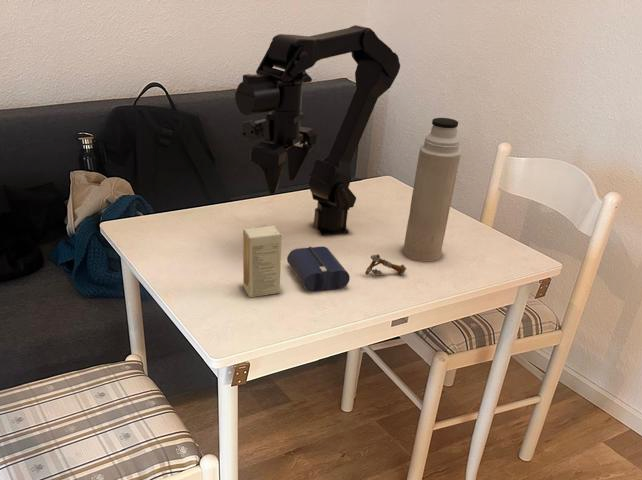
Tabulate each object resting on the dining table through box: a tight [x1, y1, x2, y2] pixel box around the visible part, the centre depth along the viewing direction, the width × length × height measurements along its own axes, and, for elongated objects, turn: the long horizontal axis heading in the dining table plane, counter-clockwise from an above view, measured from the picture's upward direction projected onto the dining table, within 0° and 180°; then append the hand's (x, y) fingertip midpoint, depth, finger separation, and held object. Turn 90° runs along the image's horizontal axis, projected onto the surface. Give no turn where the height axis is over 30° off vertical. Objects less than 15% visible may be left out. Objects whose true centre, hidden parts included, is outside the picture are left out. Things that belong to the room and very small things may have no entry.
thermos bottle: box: [402, 117, 462, 262], centre depth 137 cm, size 8×8×28 cm
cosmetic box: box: [242, 224, 282, 298], centre depth 125 cm, size 6×4×12 cm
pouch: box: [286, 245, 351, 293], centre depth 132 cm, size 9×11×4 cm
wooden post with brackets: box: [364, 253, 408, 277], centre depth 135 cm, size 2×8×4 cm, turn 102°
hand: (282, 186), depth 138 cm, fingers open, 9 cm apart
